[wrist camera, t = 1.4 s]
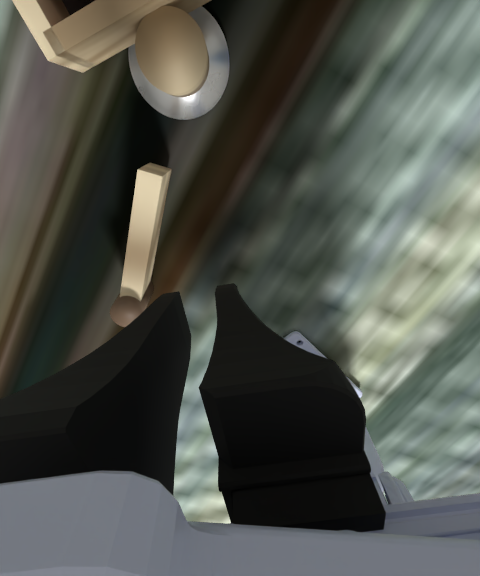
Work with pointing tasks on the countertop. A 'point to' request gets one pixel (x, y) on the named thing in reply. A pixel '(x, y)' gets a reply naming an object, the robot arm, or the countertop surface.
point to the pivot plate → (212, 86)
